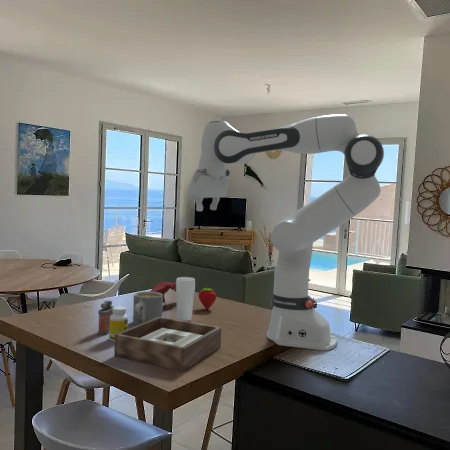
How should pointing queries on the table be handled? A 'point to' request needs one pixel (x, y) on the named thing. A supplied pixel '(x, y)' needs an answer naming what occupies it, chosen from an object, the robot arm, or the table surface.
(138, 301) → the coffee mug
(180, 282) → the drinking glass
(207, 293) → the strawberry
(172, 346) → the crate
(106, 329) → the lighter
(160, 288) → the decorative bird sculpture
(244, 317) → the table surface
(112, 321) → the supplement bottle
